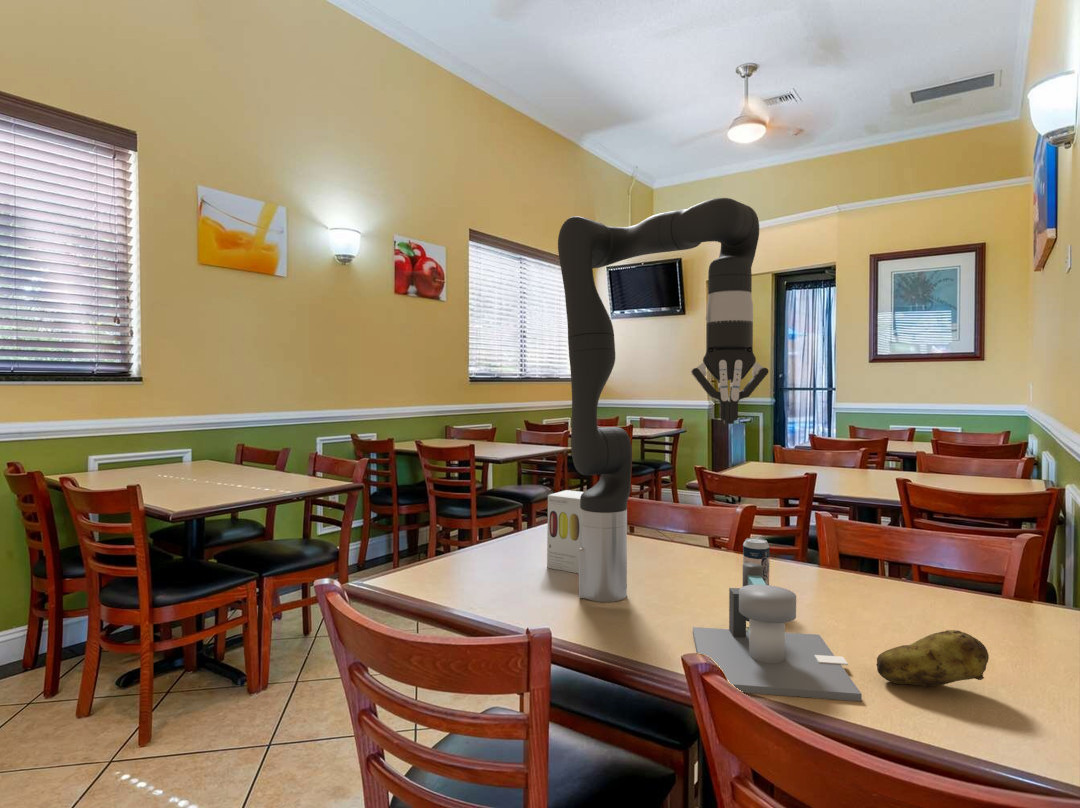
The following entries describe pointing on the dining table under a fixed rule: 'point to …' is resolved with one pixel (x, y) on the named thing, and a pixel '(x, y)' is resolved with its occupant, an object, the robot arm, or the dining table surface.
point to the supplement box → (564, 531)
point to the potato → (935, 660)
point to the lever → (764, 598)
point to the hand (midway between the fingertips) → (728, 423)
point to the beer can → (757, 554)
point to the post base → (778, 674)
